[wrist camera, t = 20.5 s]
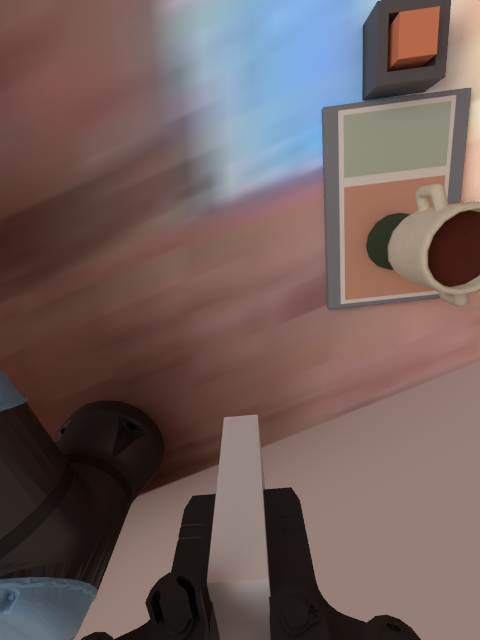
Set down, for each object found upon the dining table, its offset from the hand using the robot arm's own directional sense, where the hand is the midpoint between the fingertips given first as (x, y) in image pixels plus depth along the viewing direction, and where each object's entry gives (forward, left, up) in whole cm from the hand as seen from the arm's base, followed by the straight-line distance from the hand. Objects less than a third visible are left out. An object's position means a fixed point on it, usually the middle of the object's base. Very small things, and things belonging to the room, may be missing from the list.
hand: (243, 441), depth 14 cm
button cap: (+18, +24, -25) cm, 39 cm away
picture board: (+18, +9, -26) cm, 33 cm away
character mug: (+18, +6, -26) cm, 32 cm away
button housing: (+18, +24, -26) cm, 40 cm away
